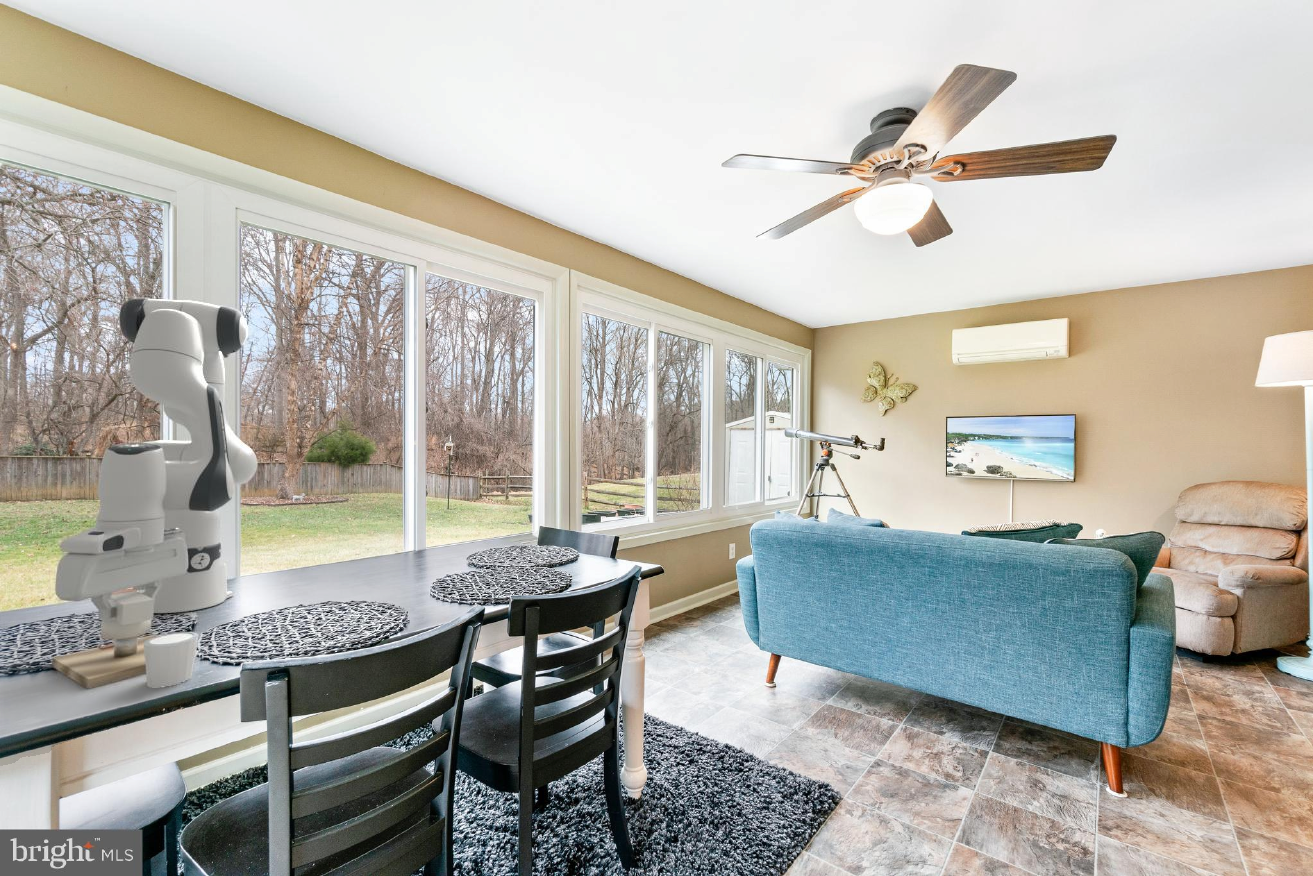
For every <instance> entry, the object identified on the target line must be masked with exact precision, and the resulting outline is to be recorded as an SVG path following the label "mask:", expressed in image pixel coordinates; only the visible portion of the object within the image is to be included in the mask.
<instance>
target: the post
mask: <svg viewBox="0 0 1313 876" xmlns="http://www.w3.org/2000/svg"><path fill="white" fill-rule="evenodd" d="M138 638H139V636H135V637H130V638H124V639H113V643H114V657H115V658H123V657H128V656H132V655H135V654H136V653H137V641H138Z"/></svg>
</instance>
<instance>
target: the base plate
mask: <svg viewBox="0 0 1313 876" xmlns="http://www.w3.org/2000/svg"><path fill="white" fill-rule="evenodd" d="M157 636H159V635H158V634H150V635H147V636H141V637H138V641H137V653H136V654H135V655H132V656H128V657H123V658H115V657H114V642H113V643H110V644H104V645H100V646H98V647H94V648H89V649H85V650H80V651H77V652H71V653H67V654H62V655H59V656H53V657H52V658H51V666H52V665H53V667H52V668H54V669H55V670H57V671H58V672H60V673H62V674H63V675H65V676H66V677H68V678H70V679H72V680H74V681H75V682H76V683H78V684H80V685H81V686H83V687H84V688H86V689H87V690H89V689H93V688H96V687H99V686H102V685H106V684H110V683H115V682H118V681H122V680H126V679H128V678H133V677H136V676H140V675H144V674H146V665H145V652H144V642H145V641H147V640H149V639H151V638H153V637H157Z"/></svg>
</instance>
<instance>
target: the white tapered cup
mask: <svg viewBox="0 0 1313 876" xmlns="http://www.w3.org/2000/svg"><path fill="white" fill-rule="evenodd" d="M198 640H199V634H198V633H197V632H193V631H179V632H172V633H167V634H161V635H158V636H157V637H153V638H151V639H149V640H147V641H145V642H144V652H145V665H146V673H145V675H146V677H145V678H146V685H147V687H148V686H150V687H149V688H152V687H162V686H169V687H171V686H170V685H173V686H177V685H179V684H178V683H180V684H182V683H181V682H183V681H186V680H187V681H189V680H191V678H192V677H193V674H194V667H195V660H196V655H197V654H196V653H197V649H198V648H197V647H198V642H199V641H198ZM188 679H189V680H188ZM187 681H186V682H187ZM183 683H184V682H183ZM176 684H177V685H176ZM162 688H163V687H162Z"/></svg>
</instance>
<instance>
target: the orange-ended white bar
mask: <svg viewBox="0 0 1313 876" xmlns="http://www.w3.org/2000/svg"><path fill="white" fill-rule="evenodd" d="M108 602H109V603H110V605H111V607H116V617H113V618H110V619H107V620H101V621H100V622H101V625H100V626H101V627H100V639H103V640H114V639H124V638H130V637H135V636H138V637H139V636H141V635H144V634H145V635H146V634H147V633H149V632H151V630H152V621H153V620H154V613H153V612H154V599H152V598H150V597H148V596H146V595H144V594H142V593H140V592H138V591H137V590H135V589H133V587H132V588H128V589H125V590H121V591H117V592H113V593H112V596H111V599H109V600H108Z"/></svg>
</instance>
